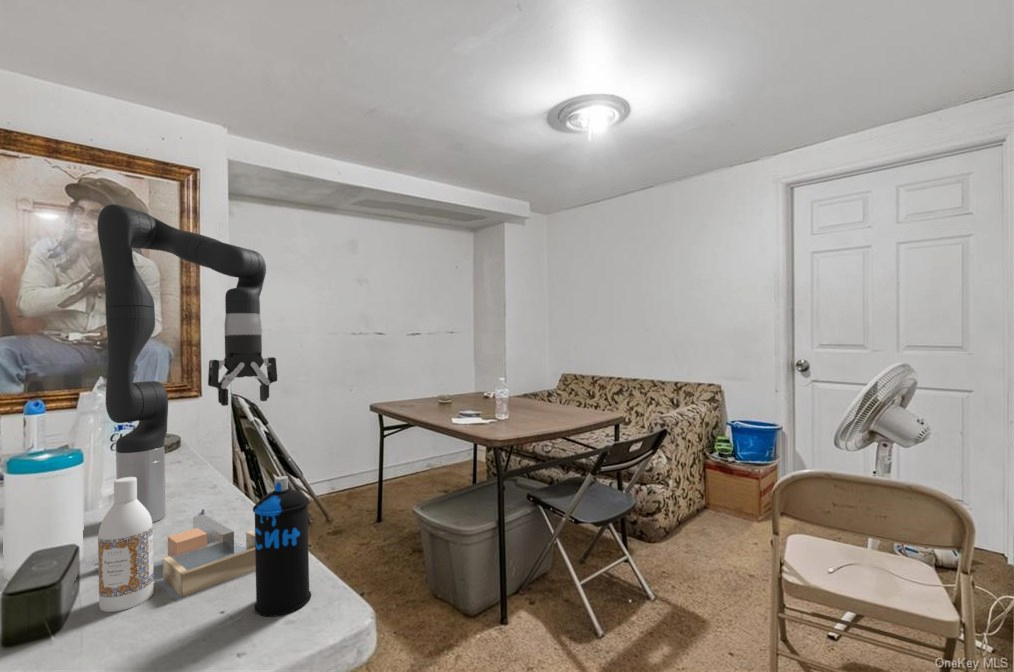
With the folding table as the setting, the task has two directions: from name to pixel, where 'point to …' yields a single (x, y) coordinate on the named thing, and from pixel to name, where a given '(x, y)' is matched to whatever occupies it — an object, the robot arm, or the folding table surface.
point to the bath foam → (125, 551)
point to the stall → (210, 570)
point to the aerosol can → (281, 551)
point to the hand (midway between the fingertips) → (244, 403)
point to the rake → (208, 544)
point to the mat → (159, 569)
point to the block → (186, 541)
